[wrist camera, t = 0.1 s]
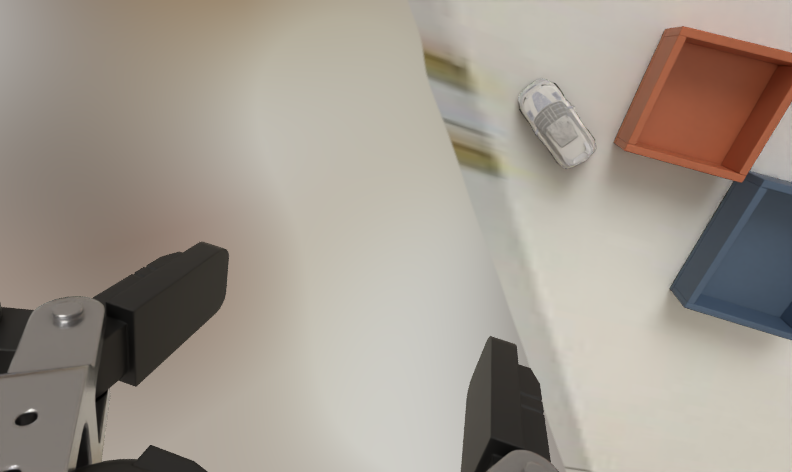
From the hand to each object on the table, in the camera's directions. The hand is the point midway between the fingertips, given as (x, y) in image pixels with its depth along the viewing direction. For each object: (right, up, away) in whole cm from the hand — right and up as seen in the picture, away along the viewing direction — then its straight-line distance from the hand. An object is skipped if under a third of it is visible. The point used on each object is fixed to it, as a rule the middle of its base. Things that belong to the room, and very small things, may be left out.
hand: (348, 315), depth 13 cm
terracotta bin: (+26, +13, +23) cm, 37 cm away
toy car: (+15, +12, +25) cm, 32 cm away
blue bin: (+34, +1, +26) cm, 43 cm away
